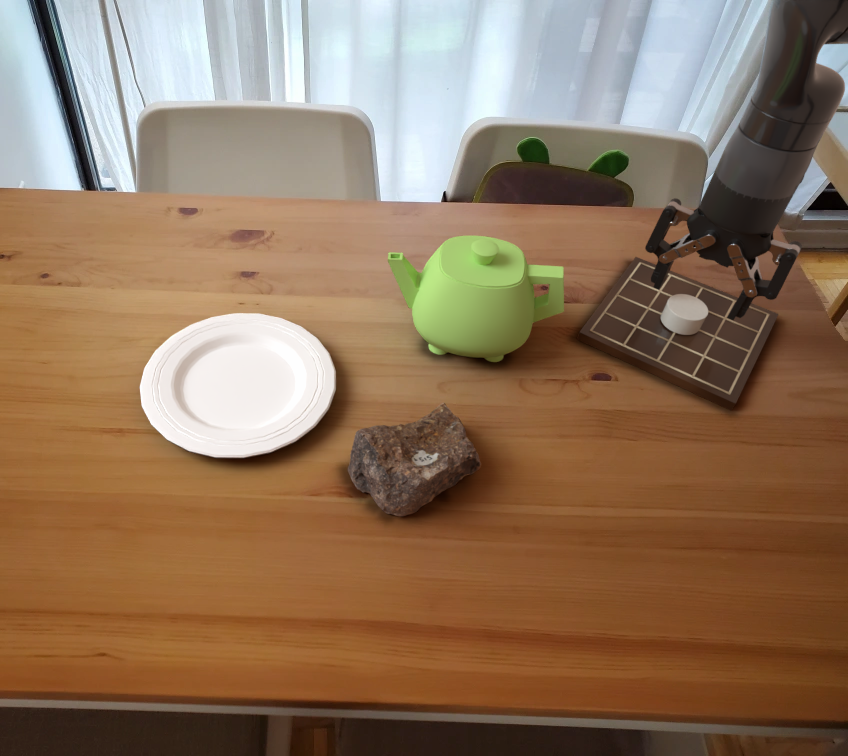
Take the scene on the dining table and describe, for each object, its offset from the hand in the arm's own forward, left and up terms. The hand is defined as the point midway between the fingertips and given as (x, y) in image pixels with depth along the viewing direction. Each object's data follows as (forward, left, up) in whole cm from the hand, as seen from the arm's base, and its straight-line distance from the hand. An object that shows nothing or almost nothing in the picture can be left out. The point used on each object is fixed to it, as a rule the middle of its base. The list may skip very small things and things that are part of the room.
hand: (694, 300), depth 83 cm
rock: (+14, +36, -5) cm, 39 cm away
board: (0, 0, -5) cm, 5 cm away
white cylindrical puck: (0, 0, -4) cm, 4 cm away
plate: (+35, +39, -5) cm, 53 cm away
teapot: (+20, +16, -5) cm, 26 cm away
